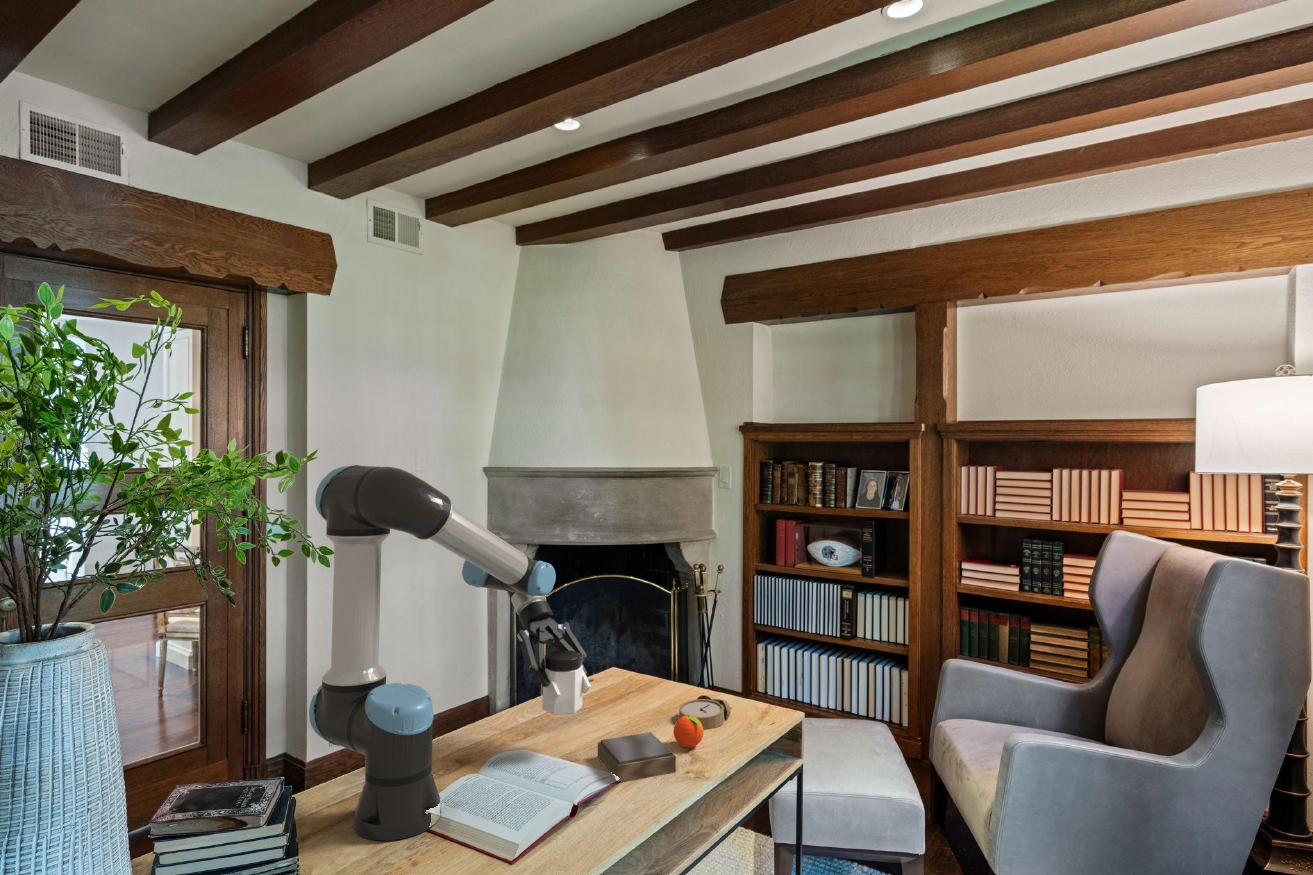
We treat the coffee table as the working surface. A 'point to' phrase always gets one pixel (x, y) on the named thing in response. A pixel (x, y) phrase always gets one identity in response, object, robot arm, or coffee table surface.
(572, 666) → the jar
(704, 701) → the alarm clock
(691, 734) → the clementine
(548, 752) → the coffee table surface
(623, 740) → the stand
